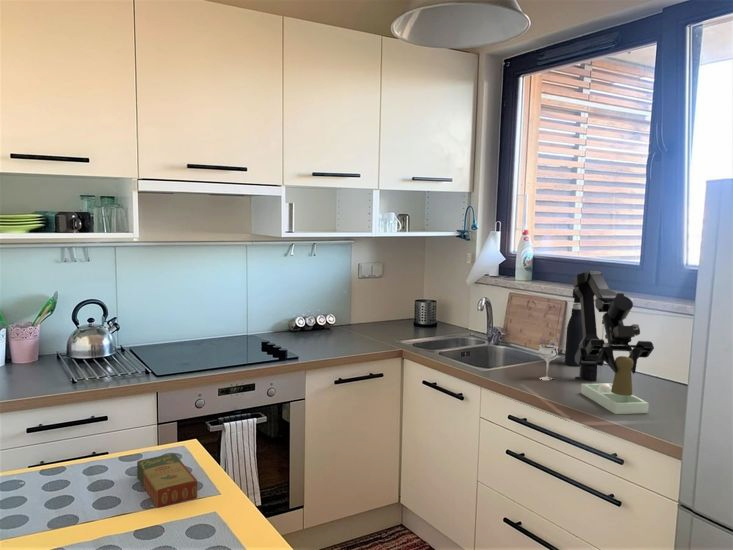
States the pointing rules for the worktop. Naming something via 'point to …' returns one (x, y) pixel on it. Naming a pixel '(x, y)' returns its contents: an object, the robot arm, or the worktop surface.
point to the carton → (166, 480)
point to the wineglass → (548, 355)
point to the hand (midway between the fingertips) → (625, 372)
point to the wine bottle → (574, 333)
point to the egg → (604, 388)
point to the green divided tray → (615, 400)
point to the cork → (623, 376)
